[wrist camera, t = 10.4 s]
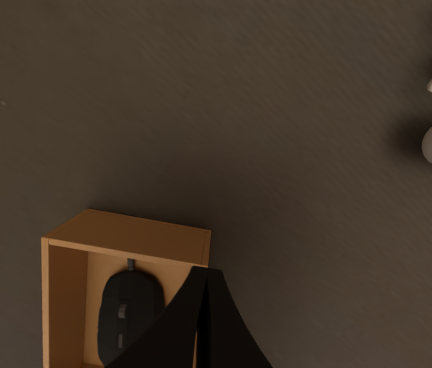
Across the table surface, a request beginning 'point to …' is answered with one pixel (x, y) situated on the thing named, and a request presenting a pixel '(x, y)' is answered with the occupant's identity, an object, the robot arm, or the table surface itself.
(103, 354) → the gaming mouse
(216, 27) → the table surface
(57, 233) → the carton
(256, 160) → the table surface
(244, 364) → the robot arm
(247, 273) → the table surface
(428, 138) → the clip-on lamp
